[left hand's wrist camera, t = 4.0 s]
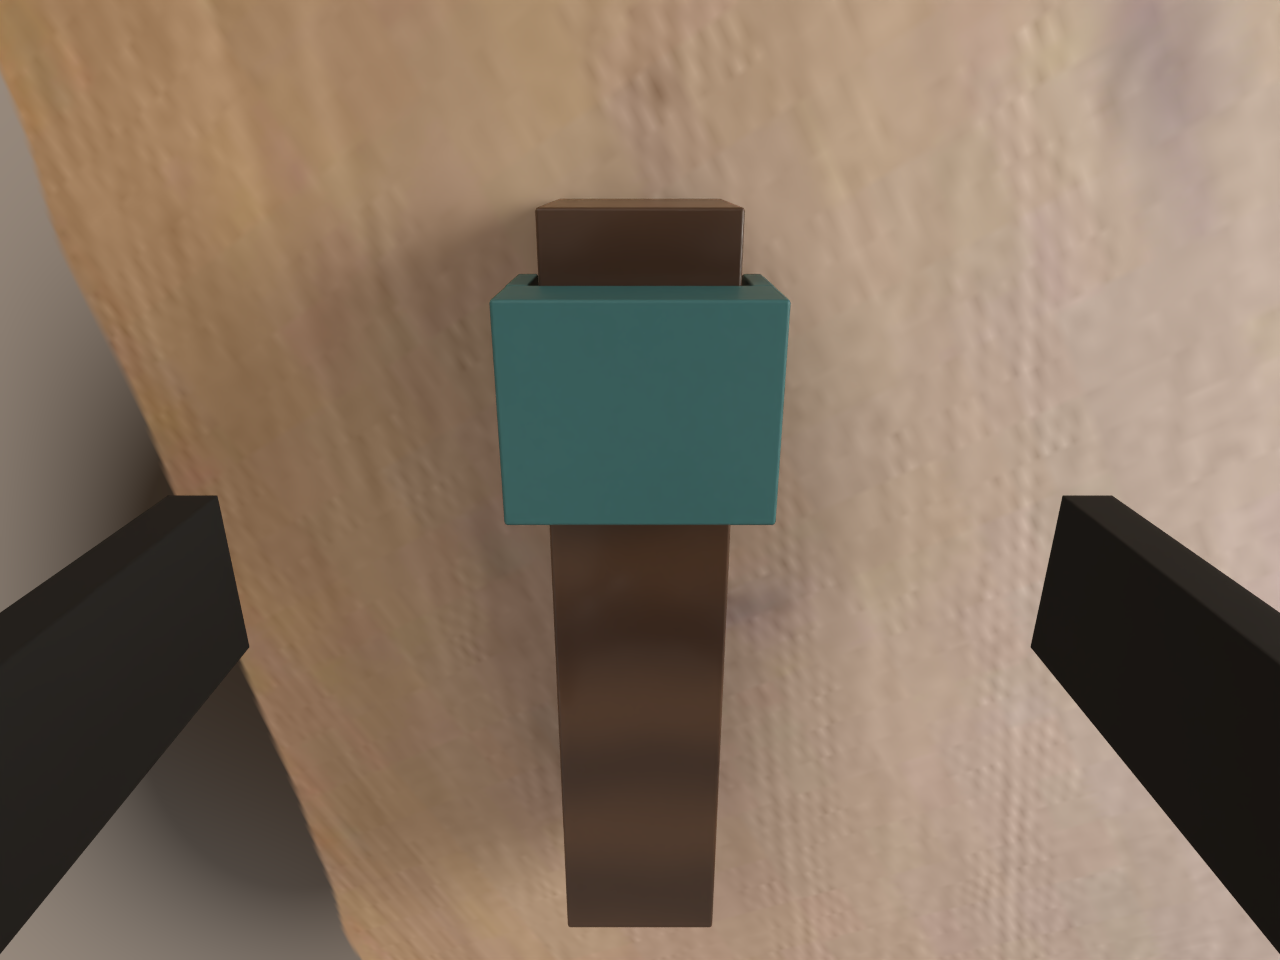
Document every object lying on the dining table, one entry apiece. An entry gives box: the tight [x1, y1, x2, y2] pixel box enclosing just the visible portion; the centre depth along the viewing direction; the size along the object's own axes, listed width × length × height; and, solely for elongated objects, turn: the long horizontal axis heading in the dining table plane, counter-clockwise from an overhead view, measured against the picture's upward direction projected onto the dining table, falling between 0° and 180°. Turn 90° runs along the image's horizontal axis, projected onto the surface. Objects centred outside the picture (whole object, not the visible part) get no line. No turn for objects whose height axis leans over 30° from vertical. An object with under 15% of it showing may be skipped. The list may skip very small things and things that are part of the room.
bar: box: [535, 199, 745, 927], centre depth 28 cm, size 26×6×6 cm, turn 0°
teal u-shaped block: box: [490, 274, 790, 525], centre depth 23 cm, size 6×7×5 cm
